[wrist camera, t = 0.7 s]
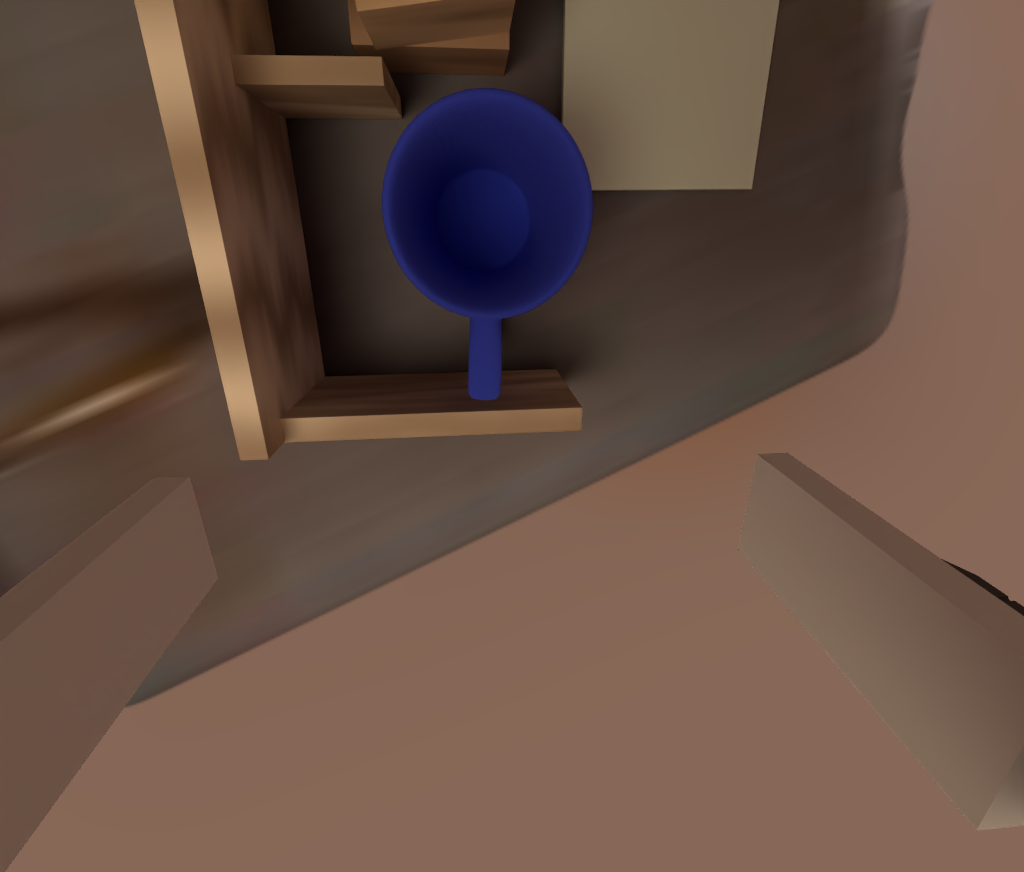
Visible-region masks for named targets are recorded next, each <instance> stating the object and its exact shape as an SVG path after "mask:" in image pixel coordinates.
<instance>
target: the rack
mask: <svg viewBox="0 0 1024 872" xmlns="http://www.w3.org/2000/svg"><path fill="white" fill-rule="evenodd" d="M134 1H135V6H136V10H137V14H138V19H139V23H140V27H141V32H142V36H143V40H144V45H145V49H146V53H147V58H148V62H149V66H150V71H151V75H152V79H153V84H154V88H155V92H156V97H157V101H158V105H159V110H160V114H161V118H162V123H163V127H164V131H165V136H166V140H167V144H168V149H169V153H170V157H171V162H172V166H173V170H174V175H175V179H176V183H177V188H178V192H179V196H180V201H181V205H182V209H183V214H184V218H185V222H186V227H187V231H188V235H189V240H190V244H191V248H192V253H193V257H194V261H195V266H196V270H197V274H198V279H199V283H200V287H201V292H202V296H203V300H204V305H205V309H206V313H207V318H208V322H209V326H210V331H211V335H212V339H213V344H214V348H215V352H216V357H217V361H218V365H219V370H220V374H221V378H222V383H223V387H224V391H225V396H226V400H227V404H228V409H229V413H230V417H231V422H232V426H233V430H234V435H235V439H236V443H237V448H238V452H239V456H240V460H260V459H269V458H270V457H271V456H272V455H273V454H274V453H275V451H276V450H277V449H278V448H279V447H280V446H281V445H282V444H283V443H284V442H305V441H330V440H355V439H379V438H404V437H429V436H454V435H478V434H503V433H528V432H553V431H578V430H581V424H582V407H581V405H580V404H579V402H578V401H577V399H576V398H575V396H574V395H573V393H572V392H571V391H570V389H569V388H568V386H567V385H566V383H565V382H564V380H563V379H562V377H561V376H560V374H559V373H558V372H557V370H556V369H547V370H515V371H502V374H501V392H500V395H499V397H498V398H496V399H493V400H477V399H473V398H472V397H470V395H469V393H468V372H452V373H420V374H388V375H356V376H325V373H324V366H323V360H322V353H321V347H320V340H319V334H318V327H317V321H316V314H315V308H314V301H313V294H312V288H311V281H310V275H309V268H308V262H307V255H306V249H305V242H304V236H303V229H302V222H301V216H300V209H299V203H298V196H297V190H296V183H295V177H294V170H293V164H292V157H291V151H290V144H289V137H288V131H287V124H286V118H317V119H402V112H401V99H400V95H399V93H398V91H397V89H396V86H395V84H394V82H393V80H392V78H391V76H390V74H389V72H388V69H387V67H386V65H385V63H384V61H383V59H382V57H369V56H289V55H276V52H275V46H274V39H273V33H272V26H271V20H270V13H269V7H268V0H134Z"/></svg>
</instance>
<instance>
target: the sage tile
mask: <svg viewBox="0 0 1024 872" xmlns="http://www.w3.org/2000/svg"><path fill="white" fill-rule="evenodd" d="M778 7H779V0H563V39H562V89H561V123H562V124H563V125H564V127H565V128H566V129H567V130H568V132H569V133H570V134H571V136H572V137H573V139H574V141H575V142H576V144H577V146H578V148H579V150H580V152H581V154H582V156H583V158H584V161H585V164H586V167H587V170H588V173H589V177H590V182H591V187H592V191H672V190H749V189H752V184H753V177H754V170H755V164H756V157H757V150H758V143H759V136H760V129H761V123H762V116H763V109H764V102H765V95H766V88H767V82H768V75H769V68H770V61H771V54H772V48H773V41H774V34H775V27H776V20H777V13H778Z"/></svg>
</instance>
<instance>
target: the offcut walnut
mask: <svg viewBox="0 0 1024 872" xmlns="http://www.w3.org/2000/svg"><path fill="white" fill-rule="evenodd" d="M347 2H348V12H349V23H350V33H351V44H352V46H353V48H354V50H355V51H356V53H357V55H358V56H369V57H382V59H383V61H384V63H385V65H386V67H387V69H388V72H389V73H421V74H458V75H495V76H504V73H505V68H506V63H507V59H508V54H509V32H507V33H500V34H492V35H485V36H477V37H470V38H462V39H455V40H447V41H440V42H433V43H425V44H418V45H410V46H403V47H395V48H388V49H380V50H376V49H375V47H374V45H373V43H372V41H371V39H370V37H369V35H368V33H367V30H366V28H365V26H364V24H363V22H362V20H361V18H360V16H359V14H358V12H357V7H356V2H355V0H347Z"/></svg>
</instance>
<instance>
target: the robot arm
mask: <svg viewBox="0 0 1024 872" xmlns="http://www.w3.org/2000/svg"><path fill="white" fill-rule="evenodd" d="M738 550H739V552H740V553H741V554H742V555H743V556H744V557H745V559H746V560H747V561H748V562H749V563H750V565H751V566H752V567H753V568H754V569H755V570H756V572H757V573H758V574H759V575H760V576H761V578H762V579H763V580H764V581H765V582H766V583H767V585H768V586H769V587H770V588H771V589H772V591H773V592H774V593H775V594H776V595H777V596H778V598H779V599H780V600H781V601H782V602H783V603H784V605H785V606H786V607H787V608H788V609H789V611H790V612H791V613H792V614H793V615H794V616H795V618H796V619H797V620H798V621H799V622H800V623H801V625H802V626H803V627H804V628H805V629H806V630H807V632H808V633H809V634H810V635H811V636H812V638H813V639H814V640H815V641H816V642H817V644H818V645H819V646H820V647H821V648H822V649H823V650H824V652H825V653H826V654H827V655H828V656H829V658H830V659H831V660H832V661H833V662H834V663H835V665H836V666H837V667H838V668H839V669H840V671H841V672H842V673H843V674H844V675H845V676H846V678H847V679H848V680H849V681H850V682H851V683H852V685H853V686H854V687H855V688H856V689H857V690H858V692H859V693H860V694H861V695H862V696H863V698H864V699H865V700H866V701H867V702H868V704H869V705H870V706H871V707H872V708H873V709H874V710H875V712H876V713H877V714H878V715H879V716H880V718H881V719H882V720H883V721H884V722H885V724H886V725H887V726H888V727H889V728H890V729H891V731H892V732H893V733H894V734H895V735H896V736H897V738H898V739H899V740H900V741H901V742H902V744H903V745H904V746H905V747H906V748H907V749H908V751H909V752H910V753H911V754H912V755H913V756H914V758H915V759H916V760H917V761H918V762H919V763H920V765H921V766H922V767H923V768H924V769H925V771H926V772H927V773H928V774H929V775H930V776H931V778H932V779H933V780H934V781H935V782H936V783H937V785H938V786H939V787H940V788H941V789H942V791H943V792H944V793H945V794H946V795H947V796H948V798H949V799H950V800H951V801H952V802H953V804H954V805H955V806H956V807H957V808H958V809H959V811H960V812H961V813H962V814H963V815H964V817H965V818H966V819H967V820H968V821H969V822H970V824H971V825H972V826H973V827H974V828H975V829H976V830H986V829H995V828H1006V827H1016V826H1024V607H1023V606H1022V605H1020V604H1018V603H1017V602H1016V601H1010V600H1009V599H1008V596H1007V595H1005V594H1004V593H1002V592H1001V591H999V590H998V589H996V588H995V587H993V586H992V585H990V584H989V583H987V582H986V581H985V580H983V579H981V578H980V577H979V576H977V575H975V574H973V573H970V572H968V571H966V570H964V569H962V568H960V567H958V566H955V565H953V564H951V563H949V562H947V561H945V560H943V559H940V558H939V557H937V556H936V555H934V554H933V553H932V552H930V551H929V550H927V549H926V548H924V547H923V546H921V545H920V544H919V543H917V542H916V541H914V540H913V539H911V538H910V537H908V536H907V535H905V534H904V533H903V532H901V531H900V530H898V529H897V528H895V527H894V526H892V525H891V524H890V523H888V522H887V521H885V520H884V519H882V518H881V517H879V516H878V515H877V514H875V513H874V512H872V511H871V510H869V509H868V508H866V507H865V506H864V505H862V504H861V503H859V502H858V501H856V500H855V499H853V498H852V497H850V496H849V495H847V494H846V493H845V492H843V491H842V490H840V489H839V488H837V487H836V486H834V485H833V484H832V483H830V482H829V481H827V480H826V479H824V478H823V477H822V476H820V475H819V474H817V473H816V472H814V471H813V470H811V469H810V468H808V467H807V466H806V465H804V464H802V463H801V462H800V461H798V460H797V459H795V458H794V457H793V456H791V455H790V454H788V453H773V454H757V457H756V462H755V467H754V472H753V477H752V482H751V487H750V492H749V497H748V502H747V507H746V512H745V517H744V522H743V527H742V532H741V538H740V543H739V548H738ZM217 579H218V576H217V573H216V569H215V566H214V562H213V559H212V555H211V552H210V548H209V544H208V541H207V537H206V534H205V530H204V527H203V523H202V520H201V516H200V512H199V509H198V505H197V502H196V498H195V495H194V491H193V488H192V484H191V480H190V477H173V478H153V479H152V480H150V481H149V482H148V483H147V484H145V485H144V486H143V487H141V488H140V489H139V490H138V491H136V492H135V493H134V494H132V495H131V496H130V497H129V498H127V499H126V500H125V501H124V502H122V503H121V504H120V505H118V506H117V507H116V508H115V509H113V510H112V511H111V512H109V513H108V514H107V515H106V516H104V517H103V518H102V519H100V520H99V521H98V522H97V523H95V524H94V525H93V526H91V527H90V528H89V529H88V530H86V531H85V532H84V533H82V534H81V535H80V536H79V537H77V538H76V539H75V540H73V541H72V542H71V543H70V544H68V545H67V546H66V547H64V548H63V549H62V550H61V551H59V552H58V553H57V554H55V555H54V556H53V557H52V558H50V559H49V560H48V561H46V562H45V563H44V564H43V565H41V566H40V567H39V568H37V569H36V570H35V571H34V572H32V573H31V574H30V575H28V576H27V577H26V578H25V579H23V580H22V581H21V582H19V583H18V584H17V585H16V586H14V587H13V588H12V589H10V590H9V591H8V592H7V593H5V594H4V595H3V596H1V597H0V872H5V871H6V870H7V868H8V867H9V865H10V864H11V862H12V861H13V860H14V859H15V857H16V856H17V854H18V853H19V851H20V850H21V849H22V848H23V846H24V845H25V843H26V842H27V840H28V839H29V838H30V837H31V835H32V834H33V832H34V831H35V830H36V828H37V827H38V825H39V824H40V823H41V821H42V820H43V819H44V817H45V816H46V814H47V813H48V812H49V810H50V809H51V808H52V806H53V805H54V803H55V802H56V801H57V799H58V798H59V796H60V795H61V794H62V792H63V791H64V790H65V788H66V787H67V786H68V784H69V783H70V781H71V780H72V779H73V777H74V776H75V774H76V773H77V772H78V770H79V769H80V768H81V766H82V764H83V763H84V762H85V761H86V759H87V758H88V757H89V755H90V754H91V752H92V751H93V750H94V748H95V747H96V746H97V744H98V743H99V741H100V740H101V739H102V737H103V736H104V735H105V733H106V732H107V730H108V729H109V728H110V726H111V725H112V724H113V722H114V721H115V719H116V718H117V717H118V715H119V714H120V712H121V711H122V710H123V708H124V707H125V706H126V704H127V703H128V701H129V700H130V699H131V697H132V696H133V695H134V693H135V692H136V690H137V689H138V688H139V686H140V685H141V684H142V682H143V681H144V679H145V678H146V677H147V675H148V674H149V673H150V671H151V670H152V668H153V667H154V666H155V664H156V663H157V662H158V660H159V659H160V657H161V656H162V655H163V653H164V652H165V651H166V649H167V648H168V646H169V645H170V644H171V642H172V641H173V639H174V638H175V637H176V635H177V634H178V633H179V631H180V630H181V628H182V627H183V626H184V624H185V623H186V622H187V620H188V619H189V617H190V616H191V615H192V613H193V612H194V611H195V609H196V608H197V606H198V605H199V604H200V602H201V601H202V600H203V598H204V597H205V595H206V594H207V593H208V591H209V590H210V588H211V587H212V586H213V584H214V583H215V582H216V580H217Z"/></svg>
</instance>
